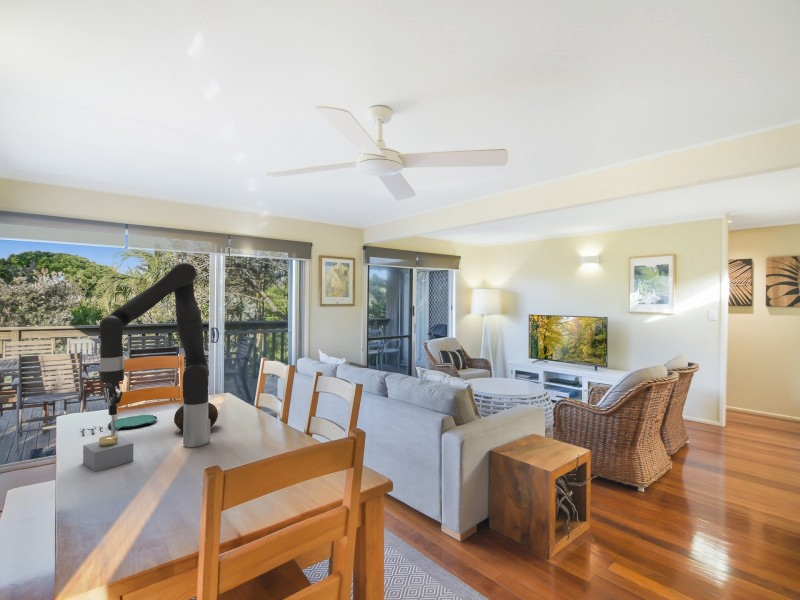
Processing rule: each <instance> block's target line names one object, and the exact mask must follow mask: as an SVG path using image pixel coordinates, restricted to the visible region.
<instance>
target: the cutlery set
mask: <svg viewBox="0 0 800 600" xmlns="http://www.w3.org/2000/svg"><path fill="white" fill-rule="evenodd" d="M157 420H158V417H157V416H156V415H153V414H140V415H134V416H128V417H127V416H126V417H122V418H117V419H114V421H115V430H118V431H119V429H129V428H135V427H141V426H145V425H148V424H154V423H155V422H156V421H157ZM107 426H108V427H109V428H111V421H110V422H109V423H108V424H107ZM85 429H86V428H85ZM85 429H84V428H83V430H82V431H81V433H82V434H83V435H82V437H85V431H84V430H85ZM101 429H103V427H102V428H100V427H99V431H101ZM94 434H95V429H93V430H91V435H94Z"/></svg>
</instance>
